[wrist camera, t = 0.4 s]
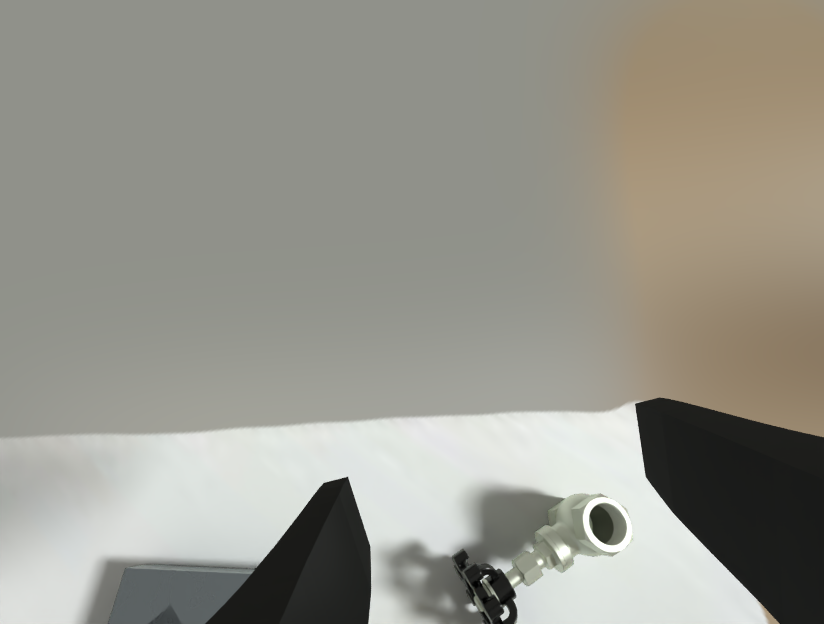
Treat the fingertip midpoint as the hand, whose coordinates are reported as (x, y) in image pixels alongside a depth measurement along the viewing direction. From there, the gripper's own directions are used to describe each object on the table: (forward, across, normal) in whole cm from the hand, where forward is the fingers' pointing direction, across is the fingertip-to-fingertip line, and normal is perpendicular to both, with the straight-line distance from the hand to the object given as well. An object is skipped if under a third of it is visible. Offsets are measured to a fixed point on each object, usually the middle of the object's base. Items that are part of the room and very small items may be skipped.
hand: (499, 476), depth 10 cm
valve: (+19, -3, +21) cm, 28 cm away
